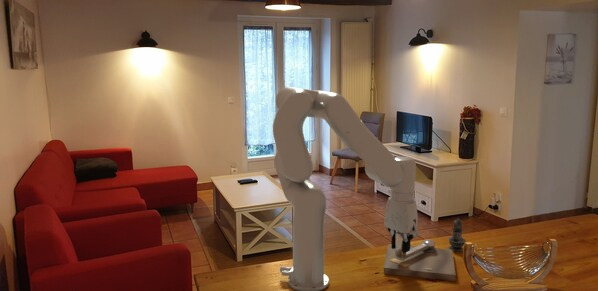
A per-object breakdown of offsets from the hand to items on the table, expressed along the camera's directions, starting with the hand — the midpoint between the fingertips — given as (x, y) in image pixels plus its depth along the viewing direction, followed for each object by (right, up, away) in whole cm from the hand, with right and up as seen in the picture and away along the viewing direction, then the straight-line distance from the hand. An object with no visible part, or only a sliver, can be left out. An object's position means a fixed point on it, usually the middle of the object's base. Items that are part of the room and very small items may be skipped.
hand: (400, 249), depth 154 cm
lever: (+6, -2, +6) cm, 9 cm away
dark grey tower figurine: (+24, -4, +17) cm, 29 cm away
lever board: (+7, -6, +5) cm, 10 cm away
